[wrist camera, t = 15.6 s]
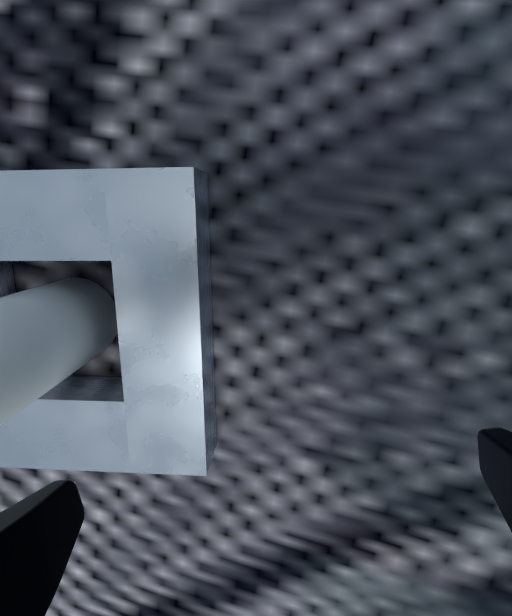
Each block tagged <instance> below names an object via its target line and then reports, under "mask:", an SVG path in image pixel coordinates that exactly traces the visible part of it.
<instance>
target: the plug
mask: <svg viewBox="0 0 512 616" xmlns="http://www.w3.org/2000/svg"><path fill="white" fill-rule="evenodd" d="M117 332H118V329H117V318H116V307H115V302H114V301H113V299H112V297H111V296H110V295H109V293H108V292H107V291H106V290H105V289H104V288H102V287H101V286H100V285H98V284H97V283H95V282H93V281H91V280H88V279H84V278H77V277H74V278H67V279H63V280H59V281H56V282H52V283H49V284H45V285H42V286H38V287H35V288H31V289H28V290H25V291H21V292H18V293H14V294H11V295H7V296H4V297H0V426H1V425H3V424H4V423H6V422H7V421H8V420H10V419H11V418H12V417H14V416H15V415H16V414H18V413H19V412H21V411H22V410H23V409H25V408H26V407H27V406H29V405H30V404H31V403H33V402H34V401H36V400H37V399H38V398H40V397H41V396H42V395H44V394H45V393H46V392H48V391H49V390H51V389H52V388H53V387H55V386H56V385H57V384H59V383H60V382H61V381H63V380H64V379H66V378H67V377H68V376H70V375H71V374H72V373H74V372H75V371H76V370H78V369H79V368H81V367H82V366H83V365H85V364H86V363H87V362H89V361H90V360H91V359H93V358H94V357H96V356H97V355H98V354H100V353H101V352H102V351H104V350H105V349H106V348H108V347H109V346H110V345H111V343H112V342H113V341H114V339H115V337H116V335H117Z"/></svg>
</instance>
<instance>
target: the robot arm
mask: <svg viewBox="0 0 512 616" xmlns="http://www.w3.org/2000/svg"><path fill="white" fill-rule="evenodd" d="M478 450H479V463H480V469H481V473H482V475H483V478H484V480H485V482H486V484H487V486H488V488H489V489H490V491H491V493H492V495H493V497H494V499H495V501H496V503H497V505H498V507H499V509H500V511H501V512H502V514H503V516H504V518H505V520H506V522H507V524H508V526H509V528H510V530H511V532H512V432H510V431H508V430H505V429H503V428H490V429H482V430H480V431H479V432H478ZM83 520H84V507H83V504H82V501H81V498H80V495H79V492H78V489H77V485H76V483H75V482H74V481H73V480H71V479H67V480H59V481H54V482H52V483H50V484H49V485H47V486H45V487H44V488H42V489H40V490H38V491H37V492H35V493H33V494H31V495H30V496H28V497H26V498H25V499H23V500H21V501H19V502H18V503H16V504H14V505H13V506H11V507H9V508H7V509H6V510H4V511H2V512H1V513H0V616H45V614H46V612H47V610H48V608H49V606H50V604H51V602H52V599H53V597H54V595H55V593H56V591H57V588H58V586H59V583H60V581H61V578H62V576H63V573H64V571H65V568H66V565H67V563H68V560H69V557H70V555H71V552H72V550H73V547H74V544H75V542H76V539H77V536H78V534H79V531H80V528H81V526H82V523H83Z"/></svg>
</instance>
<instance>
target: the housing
mask: <svg viewBox="0 0 512 616" xmlns="http://www.w3.org/2000/svg"><path fill="white" fill-rule="evenodd" d="M12 261H111V263H112V274H113V285H114V296H115V307H116V318H117V329H118V340H119V351H120V362H121V372H122V377H88V376H68V377H67V378H66V379H64V380H63V381H61V382H60V383H59V384H57V385H56V386H55V387H53V388H52V389H51V390H49V391H48V392H46V393H45V394H44V395H42V396H41V397H40V398H38V399H37V400H36V401H34V402H33V403H31V404H30V405H29V406H27V407H26V408H25V409H23V410H22V411H21V412H19V413H18V414H16V415H15V416H14V417H12V418H11V419H10V420H8V421H7V422H6V423H4V424H3V425H1V426H0V467H11V468H34V469H58V470H81V471H104V472H127V473H150V474H173V475H197V476H207V473H208V470H209V467H210V464H211V461H212V457H213V454H214V451H215V448H216V445H217V432H216V404H215V375H214V347H213V319H212V290H211V262H210V234H209V206H208V177H207V173H205V172H203V171H201V170H199V169H197V168H195V167H164V168H113V169H62V170H11V171H0V297H4V296H7V295H11V294H14V293H16V288H15V281H14V275H13V268H12Z"/></svg>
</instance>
